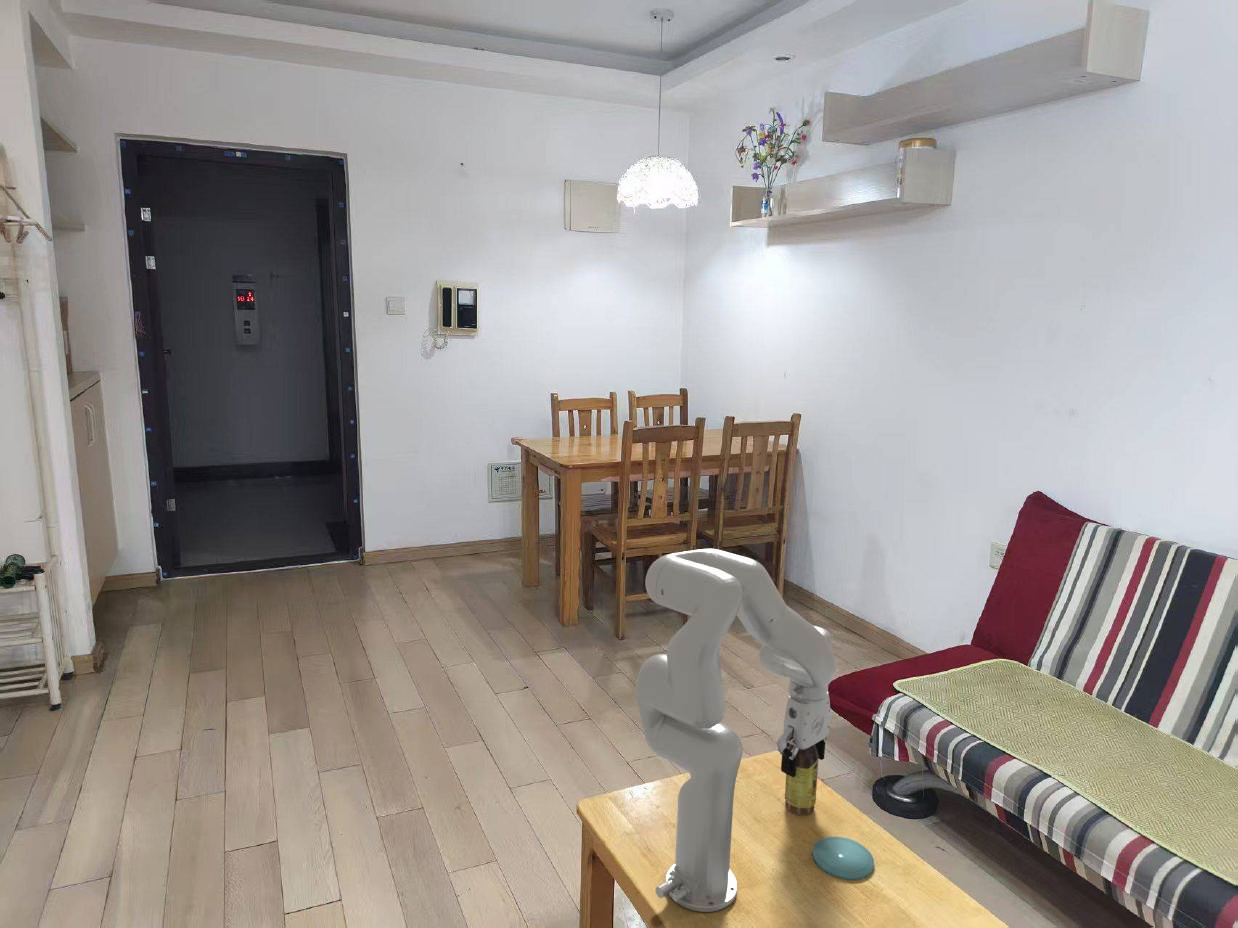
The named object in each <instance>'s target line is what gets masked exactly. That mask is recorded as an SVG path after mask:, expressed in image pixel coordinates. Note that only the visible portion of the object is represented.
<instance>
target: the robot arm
mask: <svg viewBox="0 0 1238 928" xmlns="http://www.w3.org/2000/svg"><path fill="white" fill-rule="evenodd" d="M644 582H645V590H646V592H647V595H648V597H649V598H650V599H651V600H652V601H653V602H654V603H656V604H658V605H659V606H662V607H665V608H668V609H669V610H670V609H671V610H673V611H675V612H679V613H681V614H684V615H688V616H690V617H689V618H688V620H687V621H686V622H685V624H684V625H683V626H682V627H681V628H680V629H679V630H677V631H676V633H674V634H673V636H672V637H671V638H670V640H669V642H668V644H667V647H666V653H659V654H655V655H654V654H653V655H652V656H650V657H649V658H648V659H646V660H645V662H644V663H642V665H641V667H640V669H639V671H638V674H637V677H636V678H637V679H636V682H635V683H636V684H635V697H636V702H637V707H638V713H639V715H640V716H639V718H640V722H641V727H642V731H643V735H644V739H645V742H646V744H647V746H648V747H649V749H650V750H651V751H652V752H653V753H654V754H656V755H657V756H659V757H661V758H663V759H665V760H667V761H669V762H670V763H672V764H675V765H676V766H678V767H679V768H681V769H684V771H686V772H687V773H689V775H690V778H688V779H687V780H686V781H685V782H684V783H683V784H682V785H681V787H680V789H679V792H678V795H677V796H678V797H677V816H676V817H677V818H676V836H675V837H676V839H675V859H674V861H675V862H674V864H672V866H671V867H669V869H668V871H667V872H666V876H665V882H663V883H661V884H659V885H657V886H656V887H655V893H656V895H657V897H658V898H659V899H663V898H665V897H666V896H668V895H669V897H670V898H671V899H672V900H673V901H674V902H675V903H676V904H678V905H680V906H682V907H683V908H685V909H688V910H691V911H694V912H700V913H709V912H718V911H721V910H722V909H725V908H726V907H728V906H730V905H731V904H732V903H733V901H735V898H736V897H737V893H738V882H737V879H736V876H735V875H734V873H733V872H732V871H731V869H730V863H731V851H732V850H731V848H732V847H731V846H732V845H731V844H732V832H733V830H732V828H733V815H734V814H733V813H734V812H733V811H734V798H735V797H734V796H735V788H736V787H735V786H736V782H737V776H738V774H739V773H738V772H739V769H740V765H741V761H742V757H743V752H744V751H743V749H744V748H743V742H742V740H741V738H740V737H739V735H738V733H737V732H735V730H734V729H732V728H731V727H729V726H728V725H726V724H724V723H723V722H721V721H722V720H723V718H724V716H725V714H726V705H727V703H726V701H727V700H726V692H725V687H724V680H723V673H722V667H721V657H720V649H721V647H722V643H723V641H724V639H725V637H726V635H727V633H728V631H729V630H730V628H731V626H732V624H733V622H734V621H735V619H736V618H738V620H739V621H740V622H741V624H742V625H743V627H744V628H745V631H746V632H747V633H748V634H749V635H750V636H752V637H753V638H754V639H756V640H757V641H759V642H760V643H761V644H762V645H761V646H760V649H759V652H758V653H759V661H760V663H761V665H762V666H763V668H765V669H766V670H767V671H769V672H771V673H773V674H776V675H779V676H781V677H784V678H786V679H789V684H788V685H789V687H788V694H789V695H788V699H787V703H786V708H785V713H784V714H785V715H784V722H783V731H782V734H781V735H780V736H779V737H778V739H777V740H776V745H777V750H778V752H779V754H780V755H781V764H780V771H781V772H782V773H784V774H785V775H786V774H787V775H789V776H791V777H795V775H796V763H797V759H796V758H795V756H796V754H797V752H798V750H799V749H801V750H804V749H807V748H809V747H810V746H812V745H814V744H815V745H816V749H817V752H818V755H819V758H818V760H821V761H822V760H824V759H825V752H826V751H825V750H826V741H827V740H828V736H829V734H830V729H831V722H832V720H833V715H832V714H831V702H830V695H829V684H830V683H831V682H832V681H833V679H834V676H835V674H836V669H837V668H836V665H837V663H836V657H835V654H834V651H833V649H832V643H833V642H832V635H831V633H830V632H829V631H828V630H827V629H826V628H824V627H821V626H817V625H812V624H811V623H810V622H808V621H807V620H806V619H805V618H804V617H803V616H801V615H800V614H799V613H798V612H796V611H795V610H794V609H792V608H791V607H790V606H788V605H787V604H786V602H785V600H784V599H783V597H782V595H781V594H780V592H779V590H778V589H777V586H776V585H775V583H774V581H773V580H772V577H771V576H770V574H769V572H768V571H767V569H766V568H765V567H764V565H763V564H761V563H760V562H759V561H758V560H755V559H753V558H750V557H748V556H747V557H746V556H743V555H740V554H736V553H732V552H728V551H725V550H721V549H718V548H717V549H716V548H702V549H701V548H700V549H694V550H693V549H692V550H687V551H680V552H673V553H668V554H664V555H662V556H660V557H659V558H657V559H656V560H655V561H653V562H652V564H651V565H650V566H649V568H648V569H647V573H646V575H645V581H644ZM793 739H794V741H795V743H794V742H792V740H793ZM789 745H792V746H794V747H793V749H792V752H791V751H790V750H789V749H788V747H789Z"/></svg>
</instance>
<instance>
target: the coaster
mask: <svg viewBox="0 0 1238 928" xmlns="http://www.w3.org/2000/svg"><path fill="white" fill-rule="evenodd" d="M812 858H813V860H814V863H815V864H816V865H817V867H819V869H821V870H822V871H823V872H825V873H826V874H828V875H830V876H833V877H835V878H837V879H841V880H846V881H847V880H848V881H855V880H856V881H857V880H862V879H865V878H867V877H868V876H870V875H871V873H872V872H873V870H874V867H875V866H874V865H875V860H874V857H873V855H872V853H871V852H870V850H869V849H868V848H866V847H865V846H864V845H862V844H861V843H859V842H858V841H855V840H853V839H851V838H846V837H842V836H828V837H824V838H822V839H819V840H818V841H816V843H815V844H814V846H813V848H812Z"/></svg>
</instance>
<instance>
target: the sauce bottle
mask: <svg viewBox="0 0 1238 928" xmlns="http://www.w3.org/2000/svg"><path fill="white" fill-rule="evenodd" d="M791 741H792V742H794V743H795V741H794V739H793V740H791ZM793 747H794V746H792V745H789V747H788V749H789V750H790V751H791V752H792V749H793ZM795 758H796V759H797V763H796V775H795V777H791V776H789V775H787V774H786V773H785V789H784V791H785V792H784V799H785V801H784V805H785V808H786V809H787V810H788V811H789V812H791V813H792V814H794V815H799V816H806V815H807V816H809V815H810V814H811V813H813V812H814V810H815V805H816V801H817V788H818V787H817V785H818V774H819V773H818V769H819V759H818V758H819V755H818V752H817V749H816V745H815V744H814V745H812V746H810V747H809V748H807V749H804V750H801V749H799V750H798V752H797V754H796V756H795Z"/></svg>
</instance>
